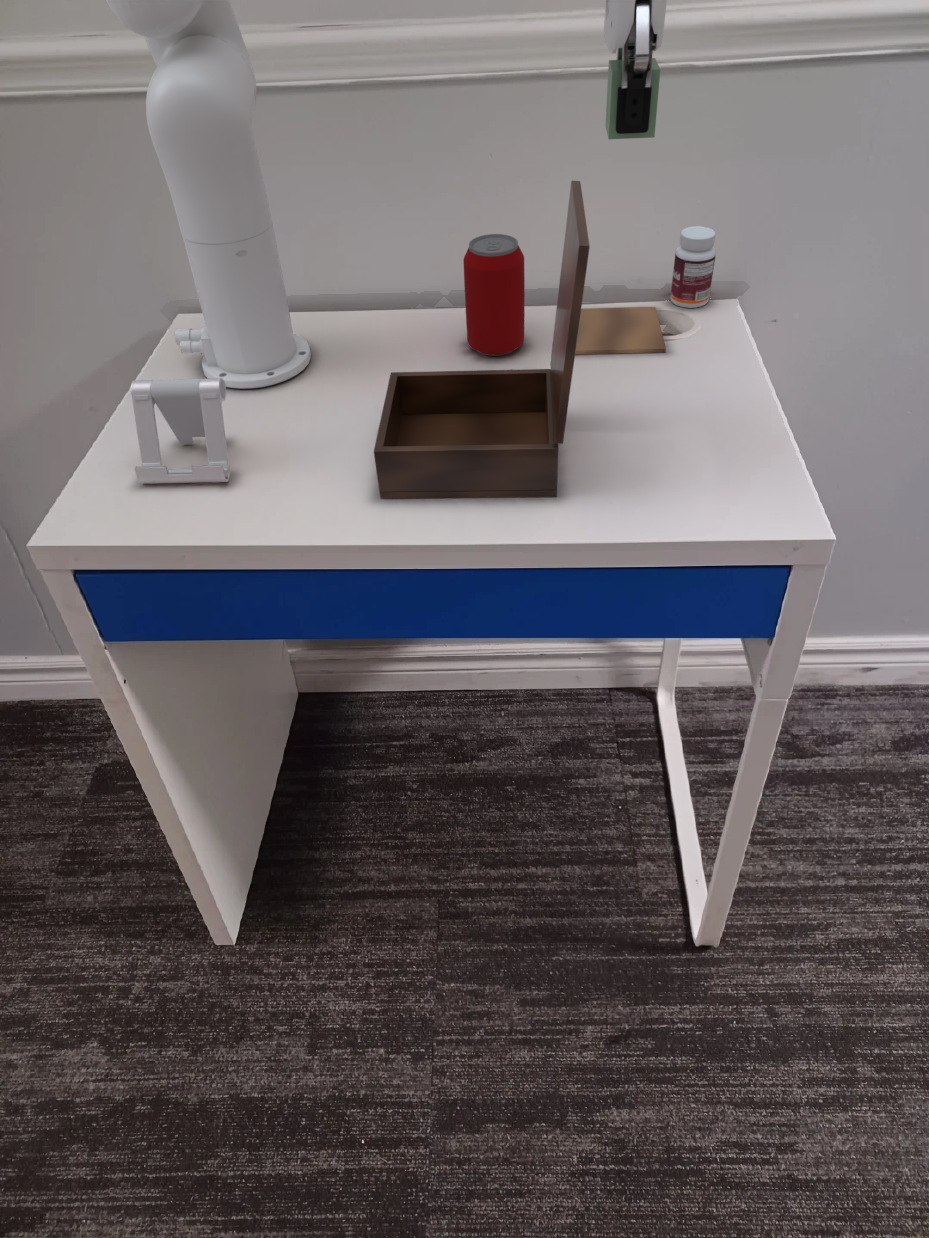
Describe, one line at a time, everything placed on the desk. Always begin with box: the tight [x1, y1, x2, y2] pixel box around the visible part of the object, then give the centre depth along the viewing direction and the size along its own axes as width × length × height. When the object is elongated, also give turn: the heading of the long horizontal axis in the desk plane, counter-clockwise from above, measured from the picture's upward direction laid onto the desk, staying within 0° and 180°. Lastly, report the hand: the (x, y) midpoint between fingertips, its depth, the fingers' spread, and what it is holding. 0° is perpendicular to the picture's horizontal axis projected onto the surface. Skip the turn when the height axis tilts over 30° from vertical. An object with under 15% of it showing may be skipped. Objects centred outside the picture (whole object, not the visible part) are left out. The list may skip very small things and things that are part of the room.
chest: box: [373, 368, 559, 500], centre depth 87 cm, size 17×15×5 cm
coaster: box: [575, 306, 667, 355], centre depth 106 cm, size 11×11×1 cm
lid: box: [549, 180, 591, 445], centre depth 78 cm, size 17×15×1 cm
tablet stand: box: [130, 377, 231, 485], centre depth 87 cm, size 9×8×8 cm
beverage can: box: [463, 233, 526, 357], centre depth 101 cm, size 7×7×12 cm
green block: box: [604, 57, 661, 140], centre depth 89 cm, size 5×5×6 cm
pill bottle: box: [670, 225, 717, 309], centre depth 108 cm, size 5×5×8 cm
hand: (629, 122), depth 91 cm, fingers closed on green block, 4 cm apart
